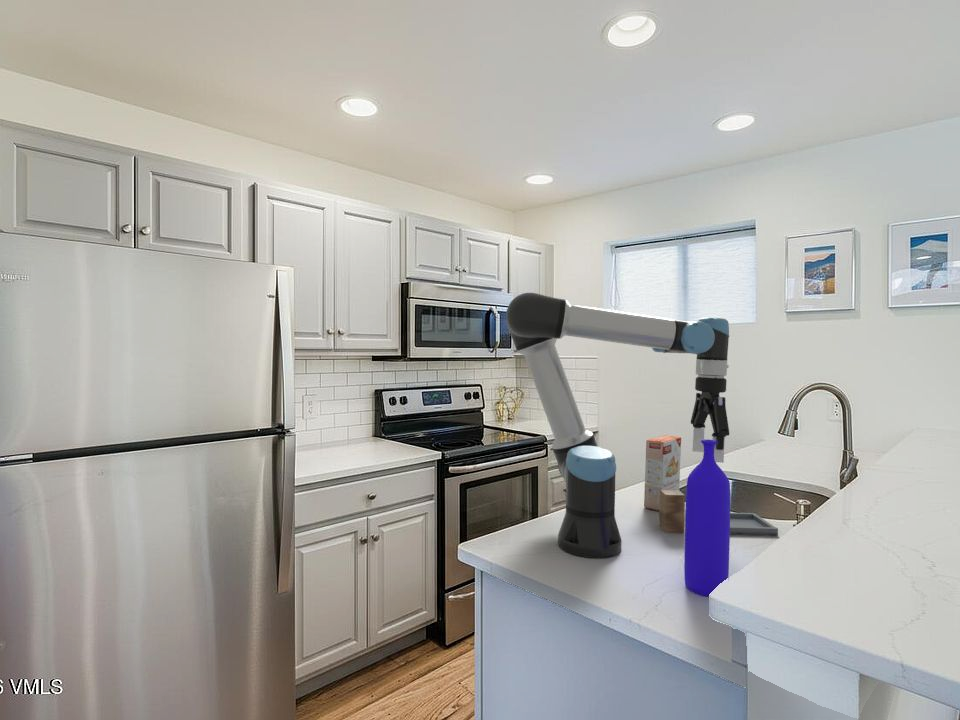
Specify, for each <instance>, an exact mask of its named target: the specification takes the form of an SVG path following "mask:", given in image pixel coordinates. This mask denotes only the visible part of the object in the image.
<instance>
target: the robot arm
mask: <svg viewBox="0 0 960 720" xmlns="http://www.w3.org/2000/svg"><path fill="white" fill-rule="evenodd" d="M504 316H505V317H504V319H505V320H504V321H505V326H506V328H507V330H508V332H509V333H510V336H511V339H512V341H513V344H514V347H515V350H516V352H517V354H521V356H522V355H523V357H524V358H525V361H526V364H527V366H528V369H529V372H530V374H531V376H532V380H533V382H534V385H535V388H536V391H537V395H538V397H539V399H540V402H541V405H542V408H543V411H544V413H545V416H546V418H547V421H548V424H549V427H550V430H551V432H552V435H553V438H554V440H553V442H552V444H551V449H552V451H553V454H554V457H555V460H556V463H557V469H558V471H559V473H560V475H561V477H562V478H563V480H564V482H565V490H566V491H565V514H564V515H563V516H564V517H563V520H562V523H561V526H560V528H559V531H558V534H557V537H558V538H557V545H558V547H559V548H560V549H561V550H563V551H565V552H567V553H569V554H571V555H575V556H579V557H584V558H595V559H599V558H600V559H601V558H610V557H613V556H616V555H618V554H620V552H622V542H623V541H622V537H621V536H622V535H621V534H620V533H621V532H620V529H619V528H618V524H617V520H616V517H615V516H616V515H615V513H616V512H615V507H616V503H615V502H616V472H617V463H616V457H615V455H614V453H613V452H611V451H610V449H606V448H602V447H601V446H599V445H598V443H597V441H596V438H595V436H594V432H592V431H590V430H588V429H587V428H586V427H585V425H584V422H583V419H582V417H581V413H580V411H579V408H578V406H577V403H576V400H575V397H574V395H573V391H572V389H571V386H570V384H569V381H568V377H567V375H566V371H565V369H564V367H563V364H562V361H561V358H560V356H559V353H558V350H557V348H556V344H557V343H556V342H557V340H558V339H559V340H560V339H562V338H564V337H565V336H568V337H574V338H582V339H586V340H587V339H588V340H596V341H603V342H609V343H615V344H616V343H617V344H623V345H630V346H638V347H645V348H651V349H652V351H653V352H655V353H663V354H691V355H692V354H693V355H696V361H695V375H696V378H695V381H694V382H695V384H694V385H695V387H694V389H695V391H697V392H696V394H695V402H694V406H693V410H692V415H691V418H690V424H691V425H692V427H693V436H692V437H693V438H692V452H697V453H704V445H703V443H701V440H705V428H706V425H705V423H706V420H707V419H708V416H709V418H710V422H711V427H712V429H713V433H712V434H711V437H712V439H711V440H715V441H717V442H718V443H717V444H715V447H714V459H715V462H716V463H720V464H721V463H724V462H725V461H724V458H725V441H726V437H727V436H729V435H730V429H729V428H730V427H729V422H728V415H727V408H726V407H727V406H726V397H723V396H720V393H726V392H727V382H728V381H727V379H726V378H725V377H727V374H728V368H729V364H728V353H729V341H730V326H729V325H730V324H729V323H730V322H729V321H728V320H727V319H726V318H722V317H702V318H699V319H698V320H693V321H687V320H680V319H672V318H667V317H660V316H653V315H652V316H651V315H646V314H638V313H631V312H624V311H619V310H612V309H605V308H597V307H591V306H590V307H589V306H582V305H576V304H570V303H569V301H568V300H567V299H562V298H557V297H552V296H548V295H544V294H540V293H536V292H524V293H520V294H518V295H517V296H515V297H514V298H513V299H512V300H511V301H510V303H509V304H508V306H507V309H506V312H505V315H504Z"/></svg>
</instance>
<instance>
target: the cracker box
mask: <svg viewBox="0 0 960 720" xmlns="http://www.w3.org/2000/svg"><path fill="white" fill-rule="evenodd" d="M645 442H646V443H645V467H644V469H645V471H644V472H645V474H644V494H643V495H644V496H643V498H644V500H643V501H644V502H643V508H644V509H648V510H653V511H657V512H660V490H679V491H680V482H681V481H680V478H681V455H682V454H681V452H682V437H679V436H676V435H667V434H666V435H664V434H663V435H662V436H658V437H653V438H649V439H646V441H645Z"/></svg>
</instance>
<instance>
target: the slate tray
mask: <svg viewBox="0 0 960 720" xmlns="http://www.w3.org/2000/svg"><path fill="white" fill-rule="evenodd" d="M730 535H743V536H746V535H747V536H774V537H775V535H778V536H779V528H777V527H776V526H774V525H773V524H771V523H770V522H768V521H767V520H766V519H764V518H763V517H761V516H759V515H758V514H757V513H754V512H730Z"/></svg>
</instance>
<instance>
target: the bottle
mask: <svg viewBox="0 0 960 720" xmlns="http://www.w3.org/2000/svg"><path fill="white" fill-rule="evenodd" d="M701 443H703V445H704V450H703V455H702V456H703V457H702V459H701V461H700V462H699V464H697V465H696V466H695V467H694V468H693V469H692V471H691V472H690V473H689V475H688V476H687V480H686V492H685V517H684V563H683V565H684V567H683V568H684V569H683V570H684V585H685V587H686V588H687V590H689V591H690V592H691V593H694V594H696V595H699V596H702V597H708V596H709V594H710V593H711V592H712V591H713V590H714V589H715V588H716V587H717V586H718V585H719V584H720V583H722V582H723V581H724V580H726V579H727V578H728V579H729V571H730V569H729V568H730V545H731V544H730V542H731V541H730V540H731V537H730V536H731V534H730V513H731V486H730V480H729V478H728V476H727V475H726V473H725V472H724V470H723V469H722V468H721V467H720V466H719V465H718V464H717V462H715V459H714V447H715V444H717V443H718V442H717V441H715V440H712V439H704V440H701ZM708 598H709V597H708Z"/></svg>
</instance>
